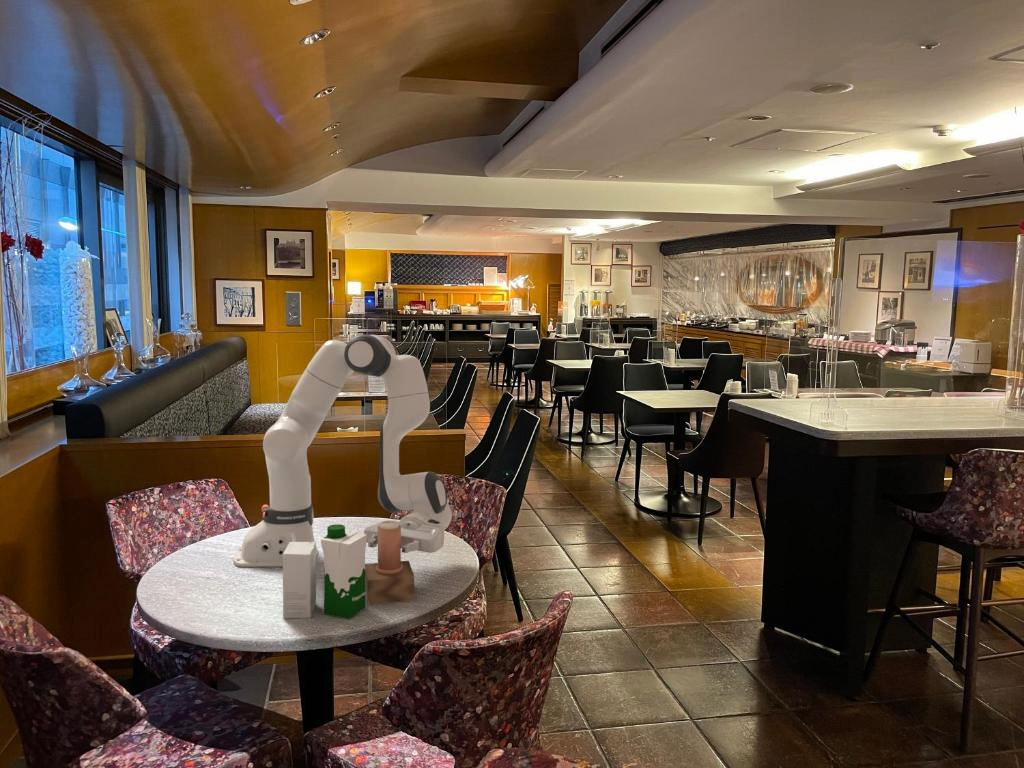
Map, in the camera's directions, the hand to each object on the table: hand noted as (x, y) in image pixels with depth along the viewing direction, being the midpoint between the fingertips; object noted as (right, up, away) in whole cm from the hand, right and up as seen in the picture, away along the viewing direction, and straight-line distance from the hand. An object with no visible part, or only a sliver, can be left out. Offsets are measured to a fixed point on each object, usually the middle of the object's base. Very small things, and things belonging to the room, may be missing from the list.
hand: (387, 547), depth 183 cm
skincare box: (-19, -13, -9) cm, 25 cm away
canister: (0, -6, +2) cm, 6 cm away
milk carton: (-8, -13, -8) cm, 18 cm away
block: (0, -12, +2) cm, 12 cm away
